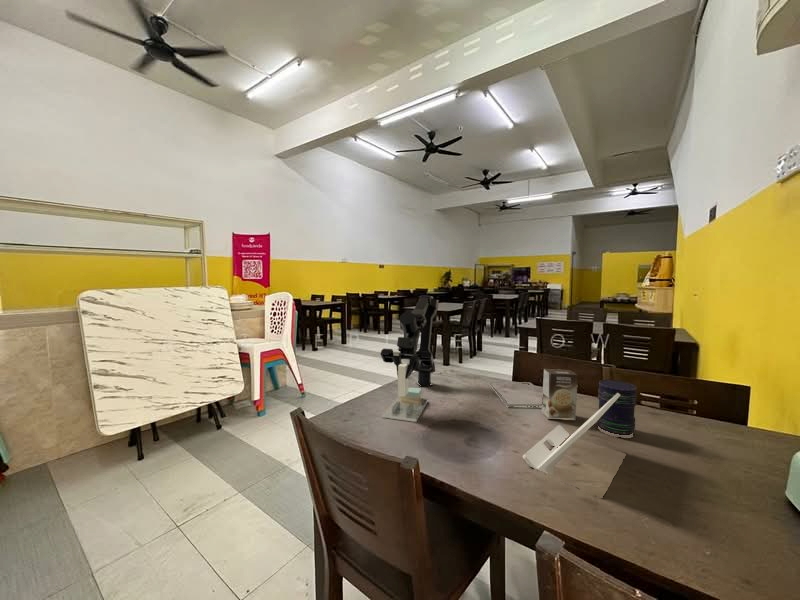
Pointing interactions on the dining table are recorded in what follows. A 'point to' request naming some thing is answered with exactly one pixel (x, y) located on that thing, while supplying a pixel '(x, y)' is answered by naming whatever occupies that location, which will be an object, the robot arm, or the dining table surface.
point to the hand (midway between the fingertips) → (402, 378)
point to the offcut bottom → (411, 399)
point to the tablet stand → (547, 459)
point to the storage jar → (617, 407)
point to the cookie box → (559, 393)
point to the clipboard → (515, 404)
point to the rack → (405, 410)
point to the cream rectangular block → (402, 379)
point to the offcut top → (414, 392)
